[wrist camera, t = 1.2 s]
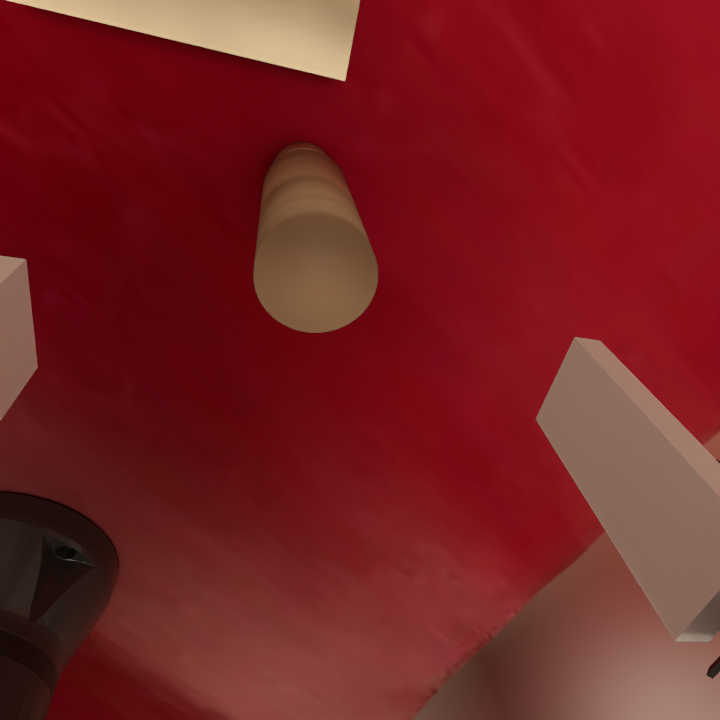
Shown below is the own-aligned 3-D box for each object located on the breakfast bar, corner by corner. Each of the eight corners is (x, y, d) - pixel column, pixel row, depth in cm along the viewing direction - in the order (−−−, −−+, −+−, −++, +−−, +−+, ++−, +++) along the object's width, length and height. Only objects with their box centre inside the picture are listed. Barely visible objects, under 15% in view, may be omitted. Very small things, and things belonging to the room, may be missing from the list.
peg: (332, 215, 31) (363, 339, 19) (260, 202, 30) (246, 324, 18) (346, 142, 29) (391, 229, 17) (270, 125, 28) (261, 205, 16)
